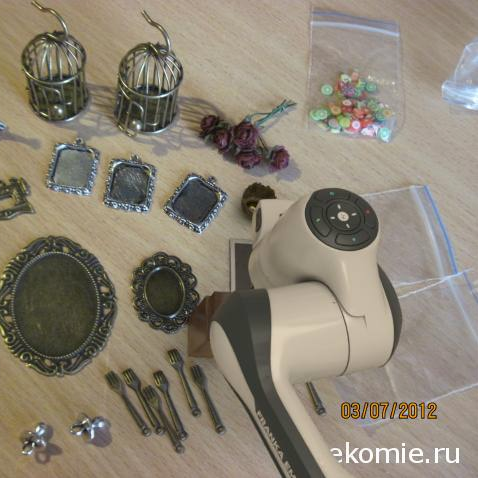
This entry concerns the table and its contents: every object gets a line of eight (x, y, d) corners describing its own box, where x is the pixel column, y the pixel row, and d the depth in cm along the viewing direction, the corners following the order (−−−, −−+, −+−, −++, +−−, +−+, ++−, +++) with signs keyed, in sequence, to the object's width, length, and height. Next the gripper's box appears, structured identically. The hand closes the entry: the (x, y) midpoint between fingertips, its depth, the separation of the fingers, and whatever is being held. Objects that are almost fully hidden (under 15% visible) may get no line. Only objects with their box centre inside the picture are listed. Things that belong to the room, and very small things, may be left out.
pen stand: (226, 358, 113) (259, 338, 90) (187, 356, 112) (211, 336, 89) (225, 320, 116) (258, 290, 92) (188, 318, 115) (211, 287, 92)
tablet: (305, 343, 116) (307, 342, 115) (230, 339, 115) (231, 338, 114) (299, 244, 123) (301, 242, 122) (229, 239, 122) (230, 238, 121)
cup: (271, 205, 126) (282, 190, 118) (260, 232, 123) (270, 219, 116) (241, 192, 126) (250, 176, 119) (229, 218, 124) (238, 204, 116)
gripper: (319, 355, 62) (281, 369, 75) (308, 191, 69) (275, 229, 82) (265, 353, 62) (236, 367, 75) (259, 187, 69) (233, 226, 82)
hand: (256, 294), depth 79 cm, fingers closed
